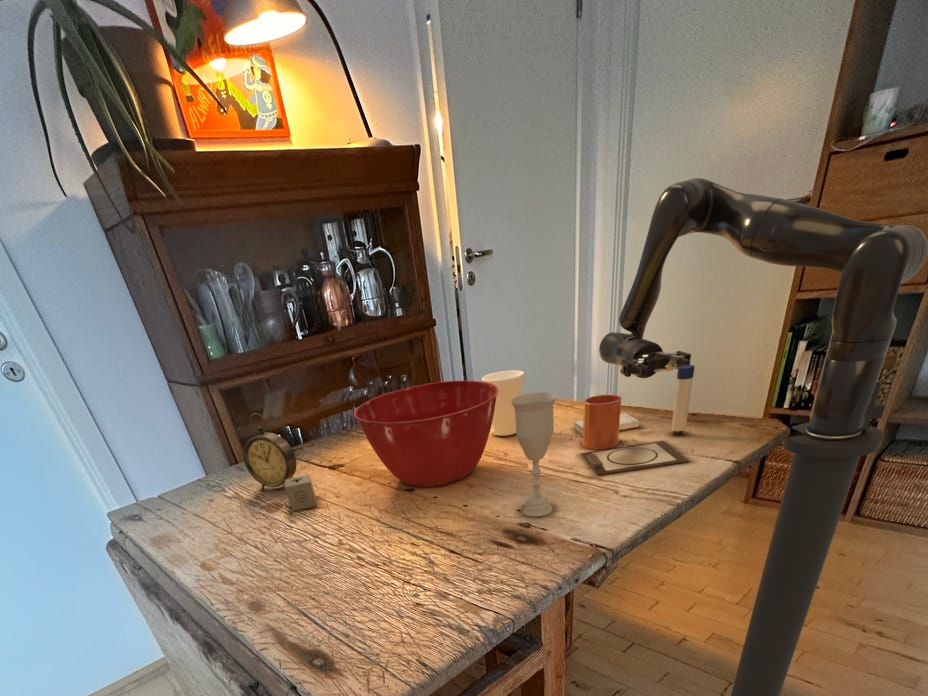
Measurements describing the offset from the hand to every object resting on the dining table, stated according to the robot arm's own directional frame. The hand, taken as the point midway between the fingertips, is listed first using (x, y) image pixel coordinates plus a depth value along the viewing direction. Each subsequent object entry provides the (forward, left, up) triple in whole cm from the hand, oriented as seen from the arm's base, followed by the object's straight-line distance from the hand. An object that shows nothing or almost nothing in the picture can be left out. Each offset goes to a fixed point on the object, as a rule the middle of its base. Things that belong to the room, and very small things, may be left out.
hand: (666, 369), depth 111 cm
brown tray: (+13, +20, -11) cm, 26 cm away
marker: (0, +10, -11) cm, 15 cm away
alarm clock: (+88, +5, -11) cm, 89 cm away
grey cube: (+80, +18, -11) cm, 83 cm away
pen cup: (+16, +8, -11) cm, 21 cm away
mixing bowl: (+52, +13, -11) cm, 55 cm away
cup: (+34, -10, -11) cm, 37 cm away
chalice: (+35, +38, -11) cm, 53 cm away
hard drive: (+12, -2, -11) cm, 17 cm away
